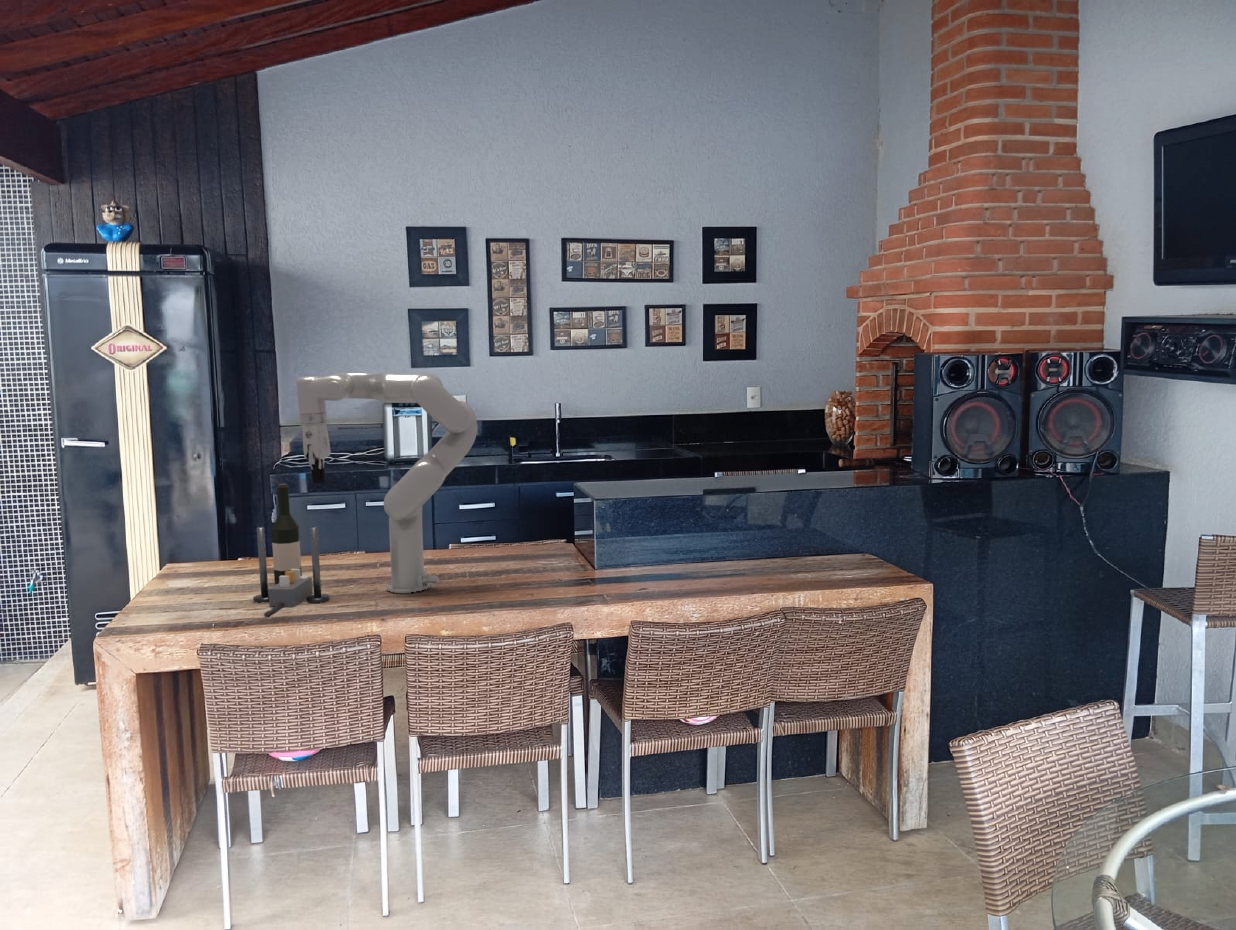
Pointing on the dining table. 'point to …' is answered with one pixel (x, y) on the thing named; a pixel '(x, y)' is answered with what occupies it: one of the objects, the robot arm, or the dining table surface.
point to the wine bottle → (285, 537)
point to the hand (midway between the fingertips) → (319, 482)
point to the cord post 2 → (316, 570)
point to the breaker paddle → (290, 576)
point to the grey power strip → (289, 592)
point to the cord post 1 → (262, 567)
